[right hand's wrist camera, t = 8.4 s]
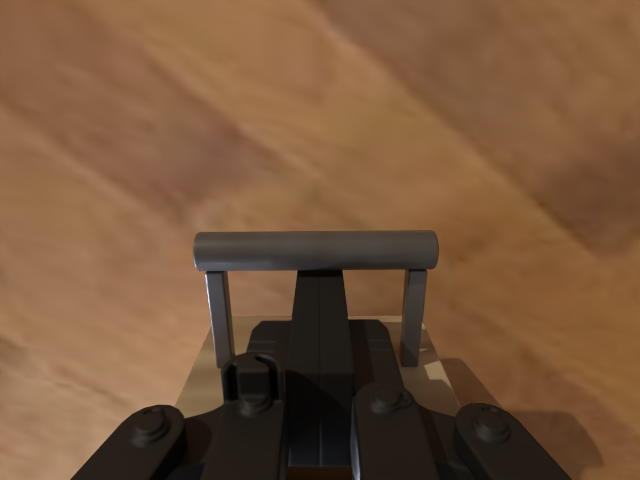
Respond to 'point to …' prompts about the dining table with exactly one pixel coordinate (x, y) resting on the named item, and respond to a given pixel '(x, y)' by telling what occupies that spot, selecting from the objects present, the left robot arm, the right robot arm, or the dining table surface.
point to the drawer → (234, 332)
